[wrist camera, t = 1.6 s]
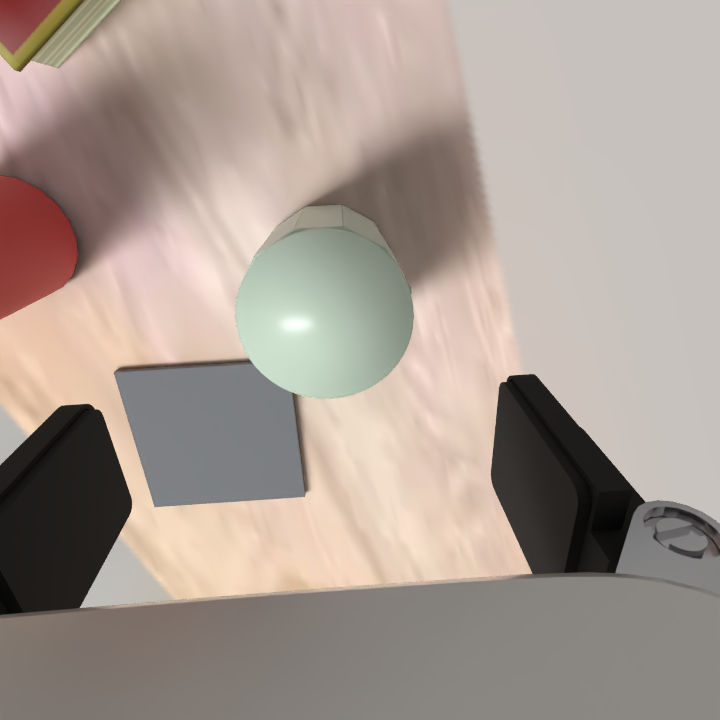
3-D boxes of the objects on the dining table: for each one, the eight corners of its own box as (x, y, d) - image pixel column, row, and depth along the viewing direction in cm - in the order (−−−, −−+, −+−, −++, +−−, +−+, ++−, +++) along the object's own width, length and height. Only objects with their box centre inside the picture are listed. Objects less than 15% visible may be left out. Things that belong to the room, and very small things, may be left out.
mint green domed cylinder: (393, 328, 29) (413, 393, 21) (272, 335, 29) (249, 403, 21) (391, 201, 26) (413, 225, 18) (255, 209, 26) (221, 236, 18)
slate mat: (305, 493, 34) (305, 496, 34) (156, 503, 34) (154, 507, 34) (288, 359, 30) (288, 361, 29) (116, 369, 30) (113, 372, 29)
